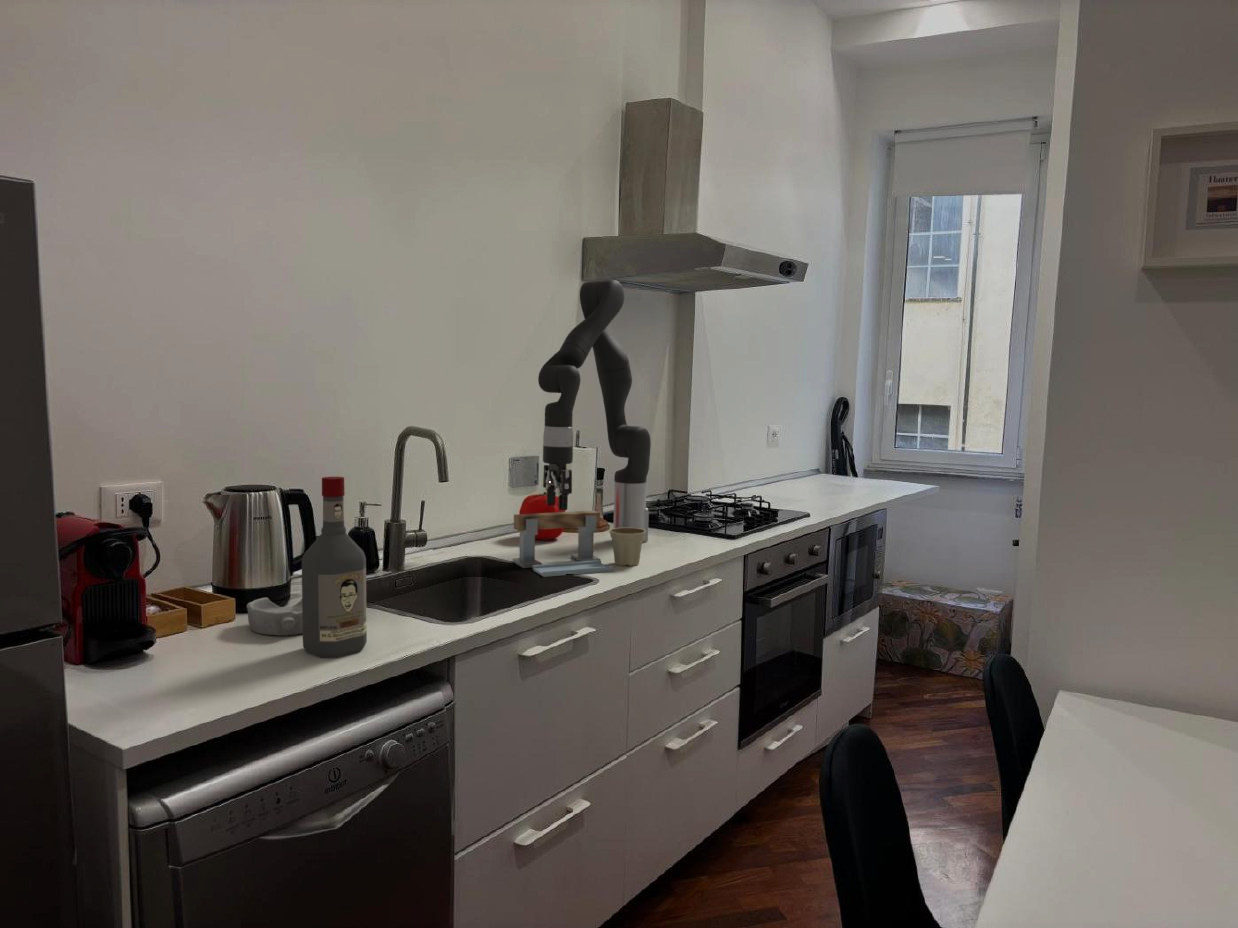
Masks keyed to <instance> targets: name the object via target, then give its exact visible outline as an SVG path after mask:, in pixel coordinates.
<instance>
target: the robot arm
mask: <svg viewBox="0 0 1238 928" xmlns="http://www.w3.org/2000/svg"><path fill="white" fill-rule="evenodd" d="M579 302H580V307H581V310H582V314H583V317H584V320H582V321H581V322H580V323H579V324H577V325H576V326H575V327H574V328H572V330H570V332H569V333H568V334H567V336H566V338H565V339H564V341H563V343H562V345H561V347H560V348H559V350H558V351H556V352H555V353H554V354H553V355H551V357H550V358H549V359H548V360H547V361H546V362H545V363H544V364H543V365H542V367H541V368H540V370H539V373H538V377H537V380H538V381H537V382H538V386H539V387H540V390H542V391H543V392H545V393H549V394H552V393H553V394H560V396H559V399H558V400H557V401H553V402H550V403H547V404H546V406H545V408H544V427H543V429H544V430H543V435H542V441H543V442H542V445H543V446H542V462H543V463H544V465H543V475H542V477H543V479H542V487H543V489H544V488H545V492H546V494H547V503H546V504H547V505H548V506H554V505H555V499H556V496H557V493H558V496H557V497H558V509H559V510H561V511H562V510H565V511H567V510H568V504H569V503H568V501H569V499H568V497H569V495H570V494H573V470H572V469H568V468H567V465H571V464H572V463H573V457H574V456H573V454H574V451H573V450H574V432H573V417H574V416H573V411H574V408H575V407H574V406H575V405H576V404H575V403H576V399H577V396H578V393H579V391H580V386H581V375H580V374H581V373H580V372H579V370H578V369H581V367H582V366H583V365H584V363H585V361H586V359H587V357H588V355H589V354H590V352H591V350H592V351H593V355H594V361H595V367H596V372H597V377H598V381H599V382H598V383H599V385H600V389H601V391H600V392H601V394H602V400H603V401H602V402H603V405H604V406H603V407H604V413H605V420H606V422H605V423H606V428H607V430H606V431H607V440H608V445H609V449H610V452H611V453H612V454H613V455H614V456H616V457H619V458H625V459H627V463H626V465H625V467H624V468H622V469H618V470H617V471H615V472H614V479H613V480H614V484H613V485H614V487H613V488H614V489H613V528H639V529H644V530H645V531H646V532H645V533H644V538H643V540H642V543H644V542H648V541H649V511H650V510H649V508H648V507H647V477H648V475H649V474H648V473H649V471H650V470H649V469H650V462H651V461H650V458H651V444H652V443H651V442H652V441H651V435H650V433H649V431H648V429H647V428H645V427H643V426H637V425H635V426H634V425H628V423H627V420H626V415H625V414H626V413H625V409H626V408H625V407H626V401H627V398H628V396H629V393H630V391H631V388H632V383H633V377H632V375H633V374H632V372H631V371H632V370H631V366H630V365H631V364H630V361H629V357H628V355H627V353H626V352H625V351H624V349H623V348H622V346H621V345H620V344H619V343H618V342H617V341H616V339H615V338H614V337H613V336H612V334H611V333H610V331H609V330H608V326H609V325H610V323H612V321H613V320H614V319H615V317H616V316H617V315H618V314H619V312H620V311H621V309H622V308H623V305H624V302H625V292H624V288H623V285H622V284H621V283H620V282H619V281H618V280H616V279H602V280H601V279H600V280H591V281H585V282H584V283H582V284H581V287H580V289H579ZM556 491H557V492H556Z"/></svg>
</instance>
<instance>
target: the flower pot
mask: <svg viewBox="0 0 1238 928" xmlns="http://www.w3.org/2000/svg"><path fill="white" fill-rule="evenodd" d="M645 532H646V531H645V530H644V529H639V528H614V527H613V528H611V529H609V530H608V533H609V534H610V535H609V536H610V538H611V541H612V542H611V543H612V549H613V559H614V564H615V565H617V566H622V567H625V566H629V567H634V566H637V565H640V559H641V552H642V547H643V542H642V540H643V538H644V533H645Z"/></svg>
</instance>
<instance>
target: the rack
mask: <svg viewBox="0 0 1238 928" xmlns="http://www.w3.org/2000/svg"><path fill="white" fill-rule="evenodd" d="M597 527H598V526H597V516H596V515H587V516H584V527H575V528H577V530H578V532H577V533H578V534H577V535H578V537H577V538H578V539H577V541H578V542H577V553H570V558H572V559H574V560H575V561H576V562H582V561H595V560H601V561H602V559H601V558H599V557H597V556H595V555H594V541H595V540H594V534H595V533H594V532H597V529H598V528H597ZM537 528H538V519H537V518H530V519H525V530H521V531H518V530H516V531H517V532H518V533H519V557H516V558H512V563H514V564H516V565H517V566H519V567H521V568H522V569H526V568H529V569H530V568H533V565H542V562H540V561H538V560H537V559H535V558H536V549H535V548H536V539H535V535H538V531H537Z"/></svg>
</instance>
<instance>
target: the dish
mask: <svg viewBox="0 0 1238 928" xmlns="http://www.w3.org/2000/svg"><path fill="white" fill-rule="evenodd" d="M246 610H247V619H248V625H249V627H250V629H251V631H253V632H255V633H258V634H261V635H271V636H296V635H297V636H298V635H303V614H302V598H301V599H300V600H299V601H298V602H297V603H296V604H294V605H291V606H286V607H285V606H284V607H283V606H280V605H277V604H276V603H274V602H273V601H271V600H270V599H269V598H268V597H261V598H257V599H253V601H250V602H248V603H247V604H246Z"/></svg>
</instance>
